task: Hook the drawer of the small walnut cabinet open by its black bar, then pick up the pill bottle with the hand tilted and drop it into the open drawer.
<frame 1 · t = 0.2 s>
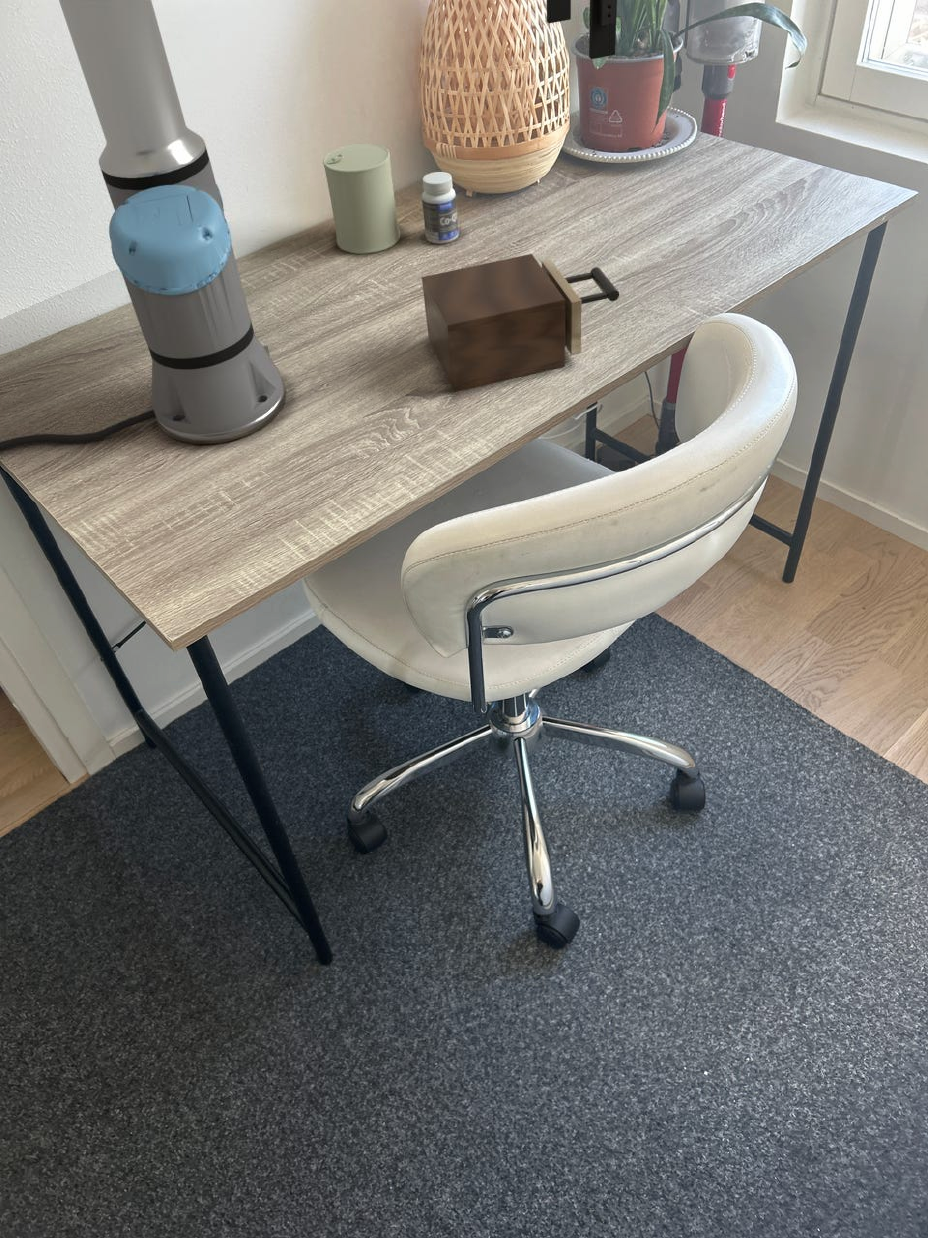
hand: (579, 37, 110), 28 cm above the table, tool pointing down, fingers open, 13 cm apart
cabinet: (495, 353, 118), on the table
drawer: (537, 311, 115), point 4 cm above the table, slide at 1.0 cm
can: (368, 239, 141), on the table
pill bottle: (442, 237, 140), on the table
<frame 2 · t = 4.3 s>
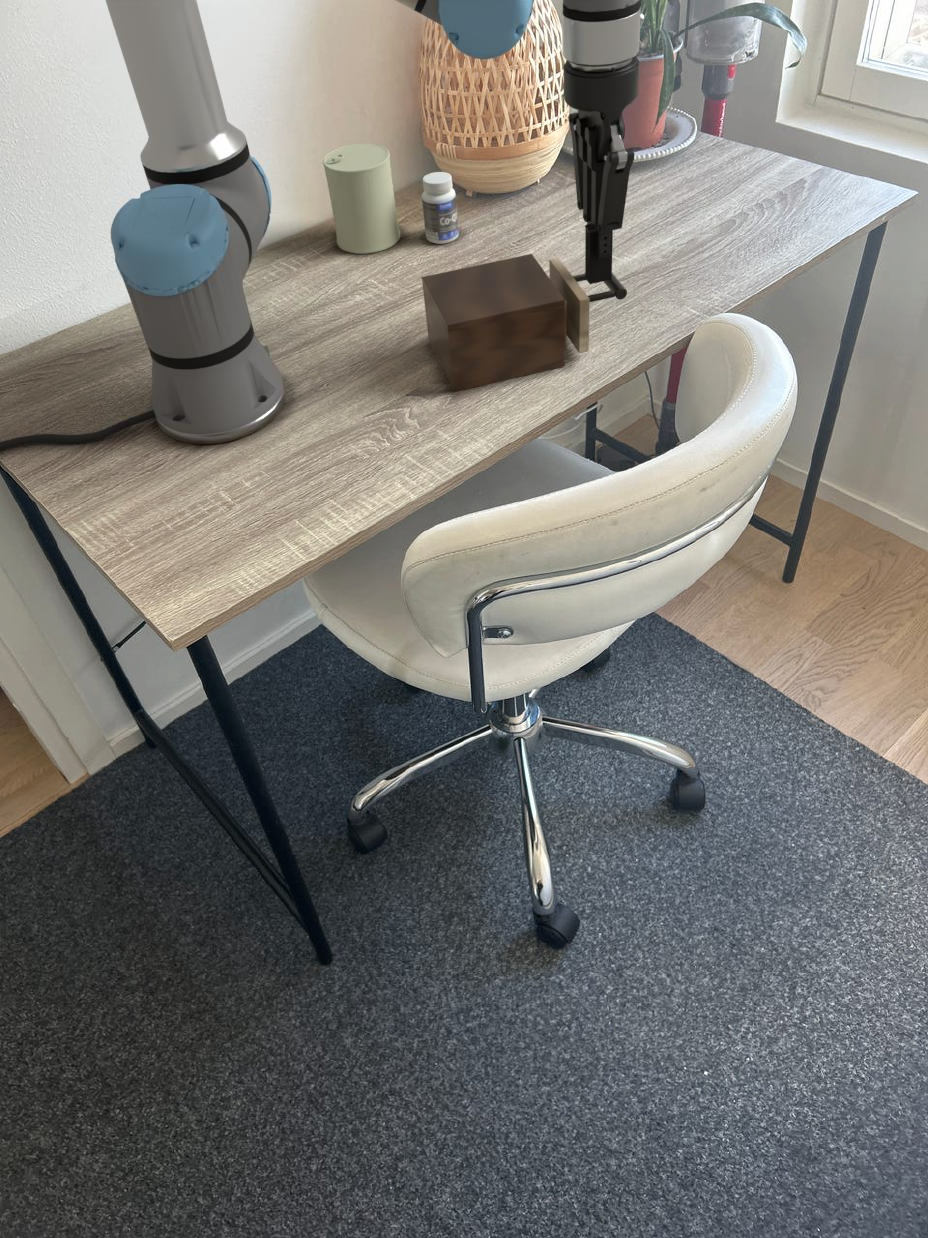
hand: (598, 278, 114), 7 cm above the table, tool pointing down, fingers closed
drawer: (545, 310, 116), point 4 cm above the table, slide at 2.0 cm, touching gripper
everything else where it was.
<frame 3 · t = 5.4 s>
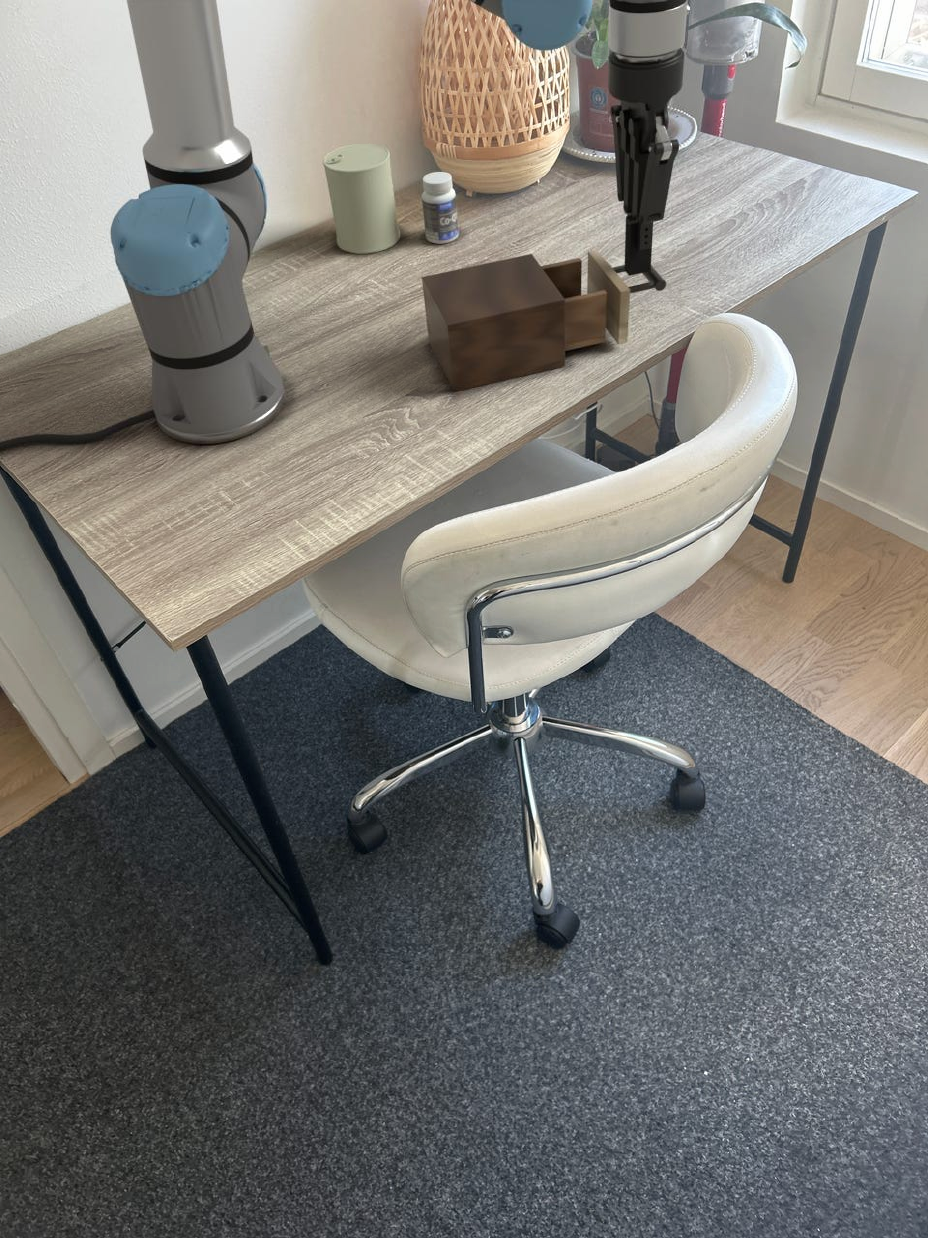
hand: (637, 270, 115), 7 cm above the table, tool pointing down, fingers closed
drawer: (584, 301, 116), point 4 cm above the table, slide at 6.9 cm, touching gripper
everything else where it was.
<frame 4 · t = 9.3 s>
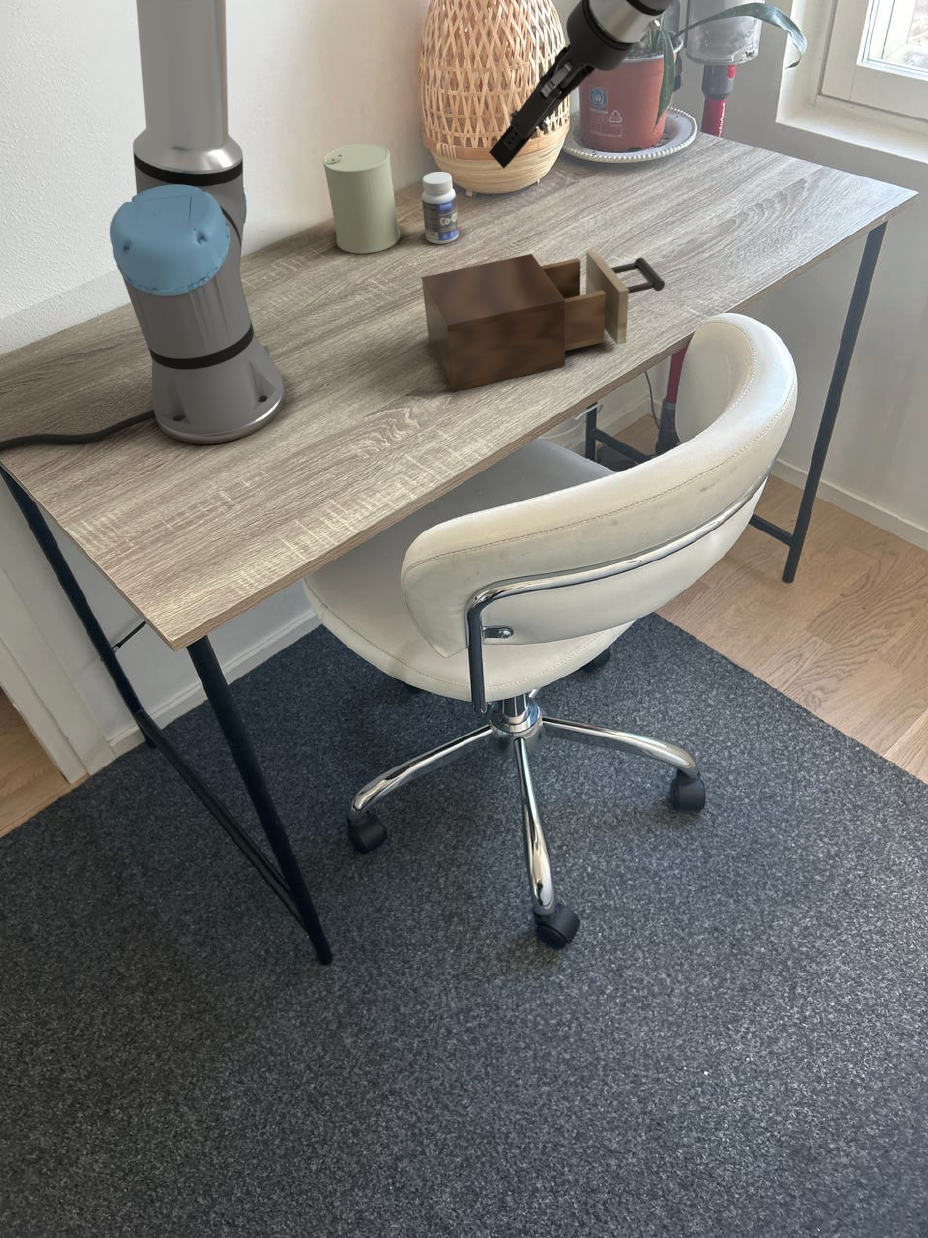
hand: (499, 157, 125), 13 cm above the table, tool tilted 40°, fingers closed
drawer: (583, 301, 116), point 4 cm above the table, slide at 6.7 cm
everything else where it was.
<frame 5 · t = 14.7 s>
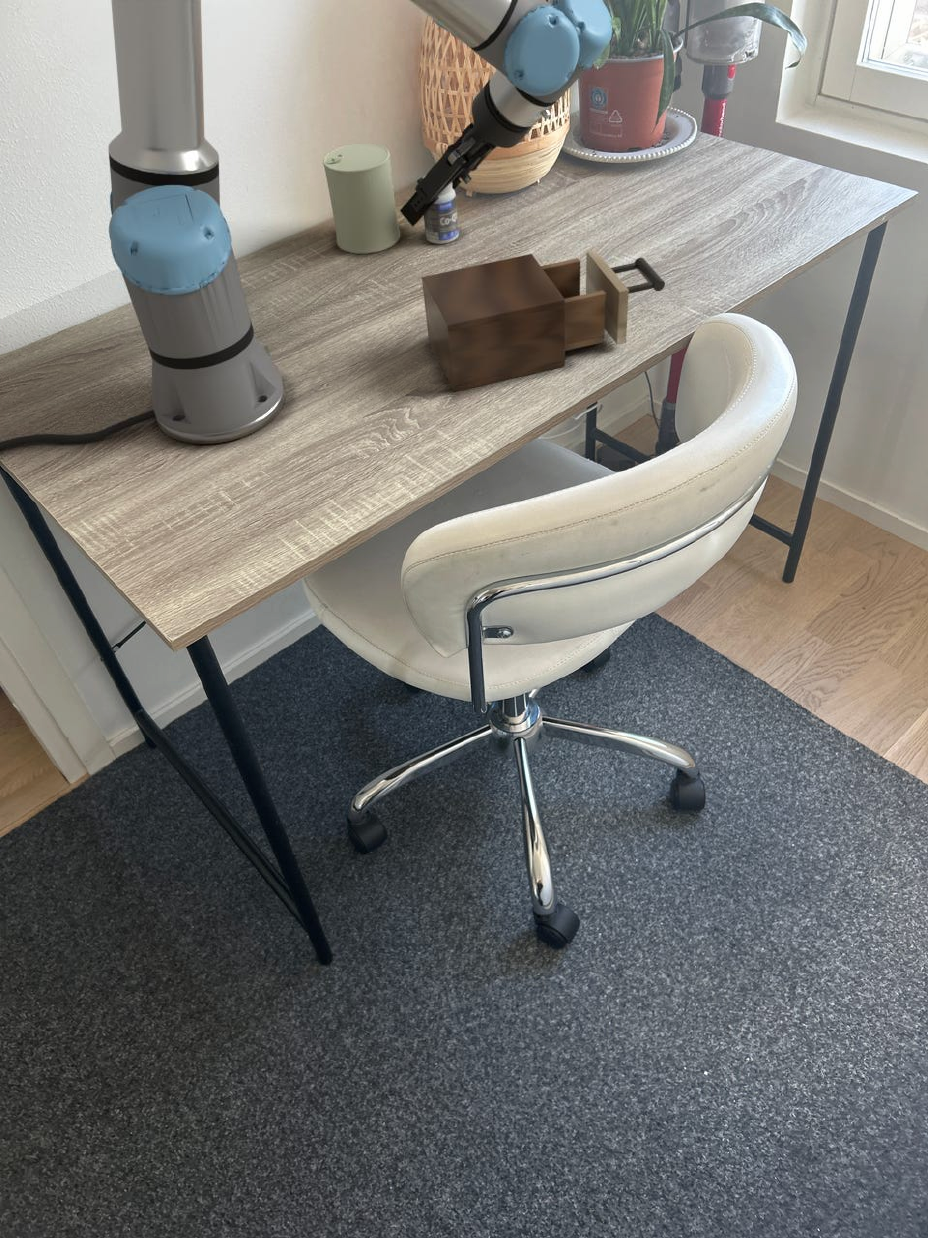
hand: (419, 209, 139), 3 cm above the table, tool tilted 45°, fingers closed on pill bottle, 5 cm apart
pill bottle: (442, 237, 140), on the table, touching gripper
everything else where it was.
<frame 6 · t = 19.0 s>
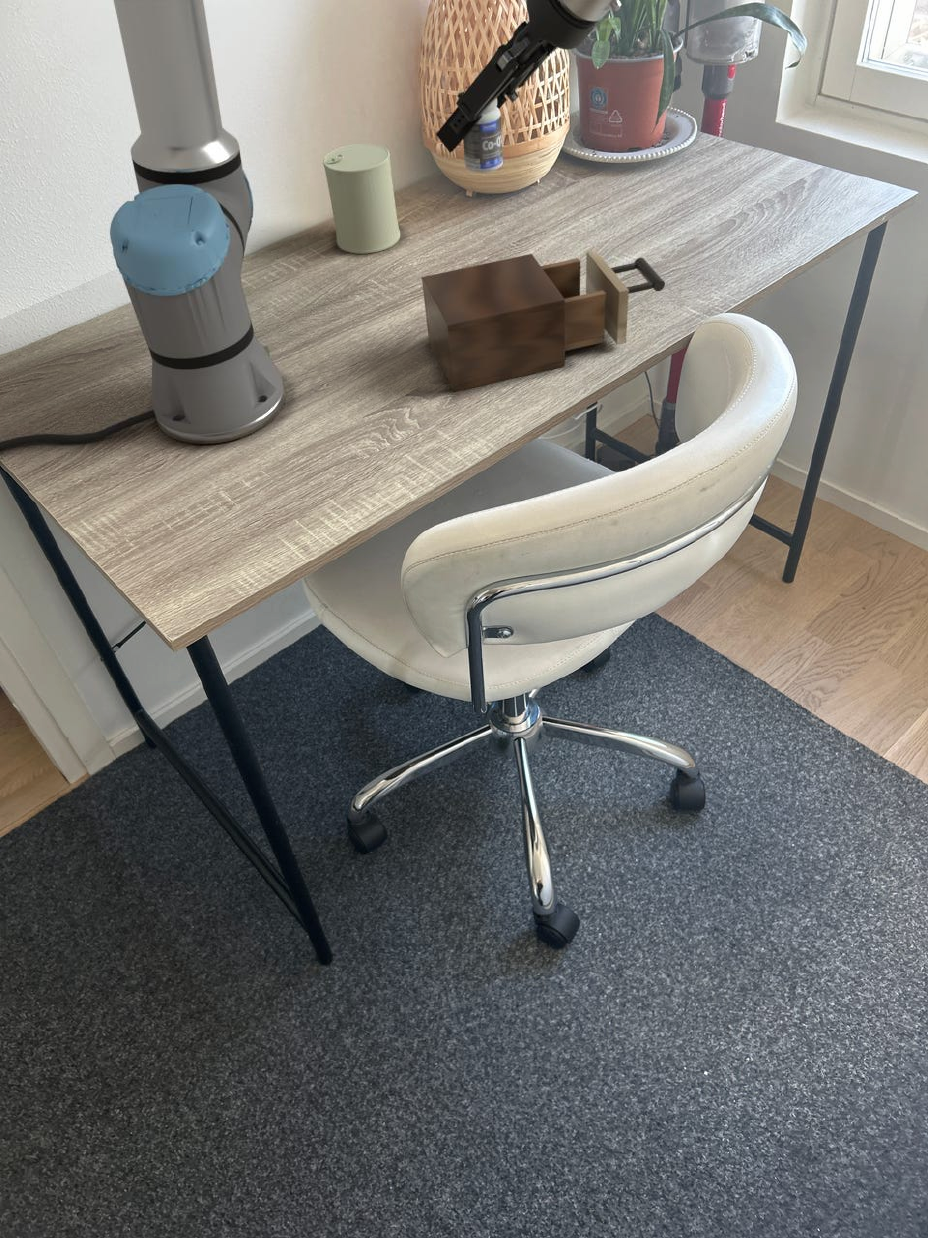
hand: (457, 133, 121), 17 cm above the table, tool tilted 45°, fingers closed on pill bottle, 5 cm apart
pill bottle: (484, 167, 122), point 14 cm above the table, touching gripper
everything else where it was.
when the fingers open (13 cm above the table, at t = 23.2 s): pill bottle drops 7 cm, resting on drawer.
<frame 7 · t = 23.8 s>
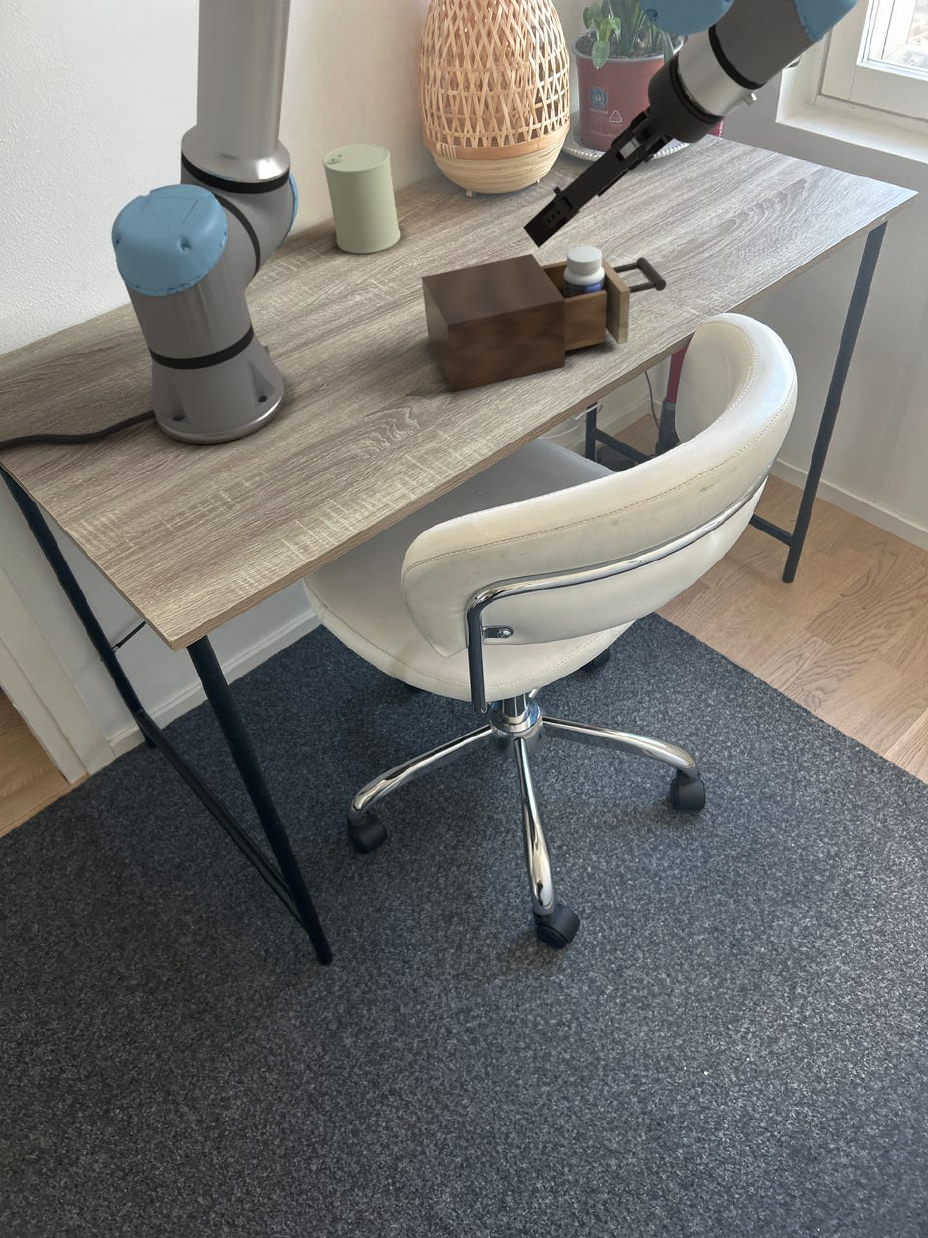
hand: (563, 210, 109), 15 cm above the table, tool tilted 45°, fingers open, 13 cm apart
drawer: (584, 301, 116), point 4 cm above the table, slide at 6.8 cm, touching pill bottle
pill bottle: (583, 321, 118), point 2 cm above the table, touching drawer
everything else where it was.
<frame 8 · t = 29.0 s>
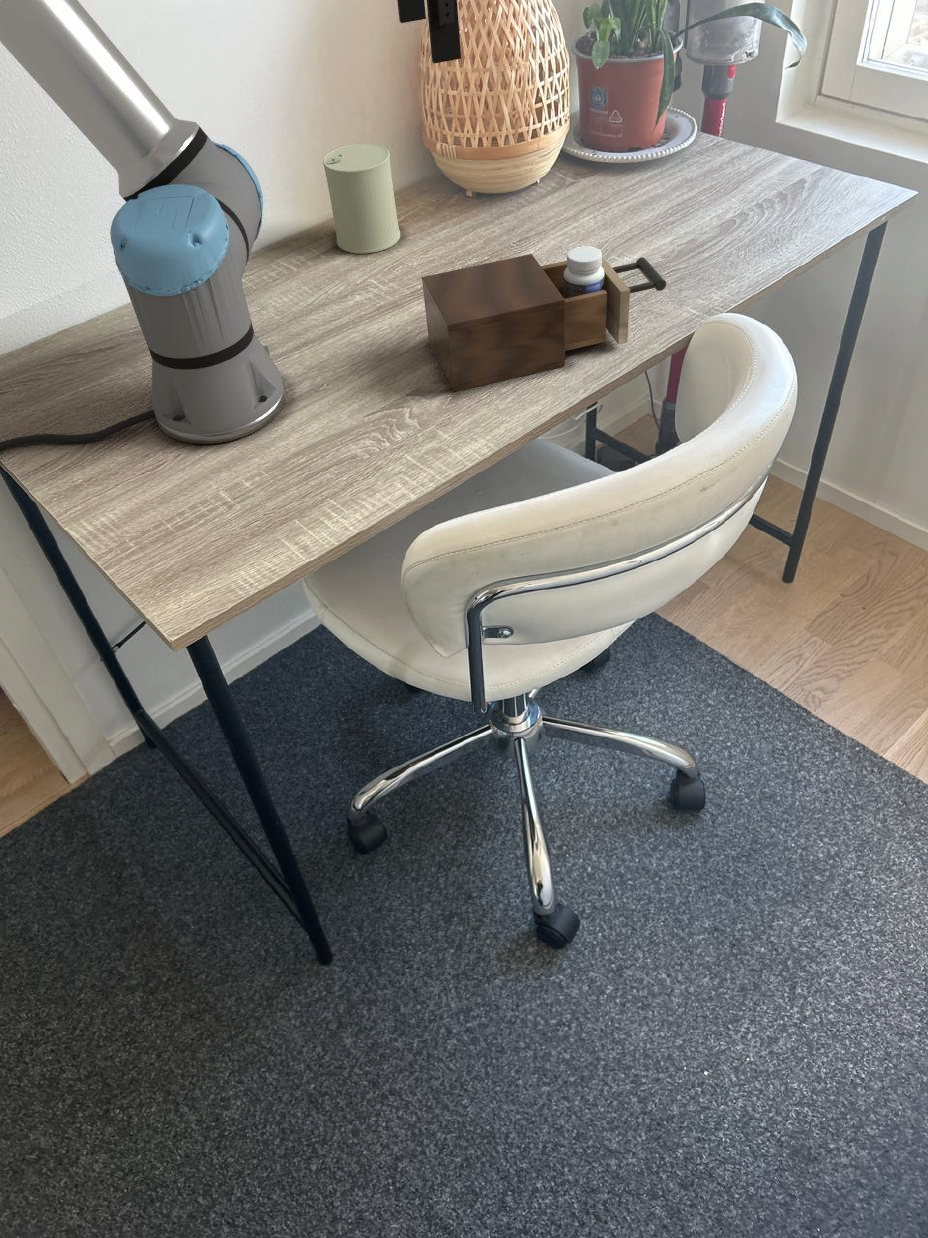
hand: (429, 39, 98), 33 cm above the table, tool pointing down, fingers open, 13 cm apart
nothing on the table moved.
at the end: drawer slide at 6.8 cm; pill bottle inside the target area in the drawer (2.7 cm from its centre), point 1.8 cm above the cabinet's base; the gripper is holding nothing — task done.
